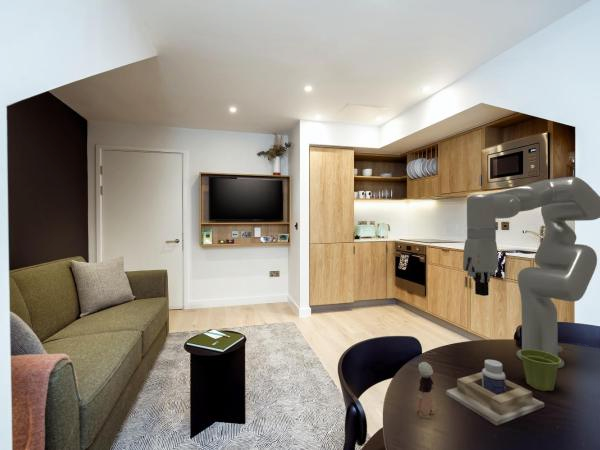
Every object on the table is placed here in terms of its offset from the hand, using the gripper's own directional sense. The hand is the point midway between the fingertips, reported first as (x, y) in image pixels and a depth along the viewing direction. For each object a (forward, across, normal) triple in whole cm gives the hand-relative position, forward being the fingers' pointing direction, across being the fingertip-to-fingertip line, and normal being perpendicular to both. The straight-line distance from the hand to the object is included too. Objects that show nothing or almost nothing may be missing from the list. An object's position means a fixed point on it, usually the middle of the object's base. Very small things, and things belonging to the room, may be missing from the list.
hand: (481, 294), depth 91 cm
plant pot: (+25, -10, +10) cm, 29 cm away
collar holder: (+25, +9, +10) cm, 28 cm away
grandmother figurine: (+25, +30, +7) cm, 40 cm away
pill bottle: (+24, +9, +10) cm, 28 cm away
